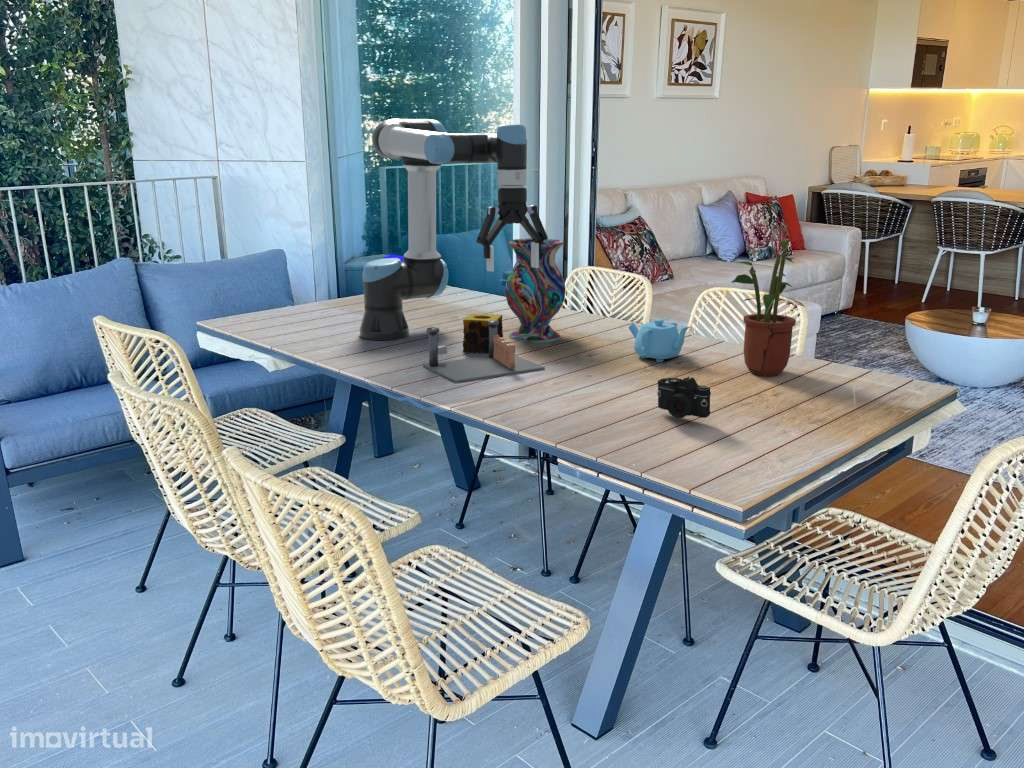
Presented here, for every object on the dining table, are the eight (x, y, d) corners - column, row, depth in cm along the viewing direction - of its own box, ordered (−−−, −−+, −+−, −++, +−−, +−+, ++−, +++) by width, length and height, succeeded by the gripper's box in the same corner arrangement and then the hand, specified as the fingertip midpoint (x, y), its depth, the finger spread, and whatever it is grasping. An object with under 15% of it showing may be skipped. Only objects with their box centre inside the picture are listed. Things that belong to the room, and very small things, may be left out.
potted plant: (791, 370, 233) (803, 238, 223) (789, 384, 219) (802, 245, 209) (725, 364, 238) (734, 236, 229) (719, 378, 224) (728, 242, 215)
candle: (496, 355, 248) (496, 321, 245) (462, 353, 250) (461, 319, 247) (504, 347, 258) (504, 314, 255) (471, 345, 260) (470, 312, 257)
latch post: (423, 366, 236) (422, 327, 233) (444, 363, 239) (443, 324, 236) (431, 369, 232) (430, 330, 229) (452, 366, 235) (451, 327, 232)
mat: (423, 366, 235) (423, 364, 235) (508, 354, 249) (508, 352, 248) (455, 383, 220) (455, 380, 219) (544, 369, 233) (544, 367, 233)
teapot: (680, 353, 251) (682, 314, 248) (688, 365, 238) (691, 324, 235) (627, 353, 251) (628, 314, 248) (632, 364, 238) (634, 324, 235)
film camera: (644, 414, 197) (647, 379, 190) (661, 397, 201) (664, 363, 195) (696, 437, 190) (702, 402, 184) (713, 419, 195) (718, 384, 188)
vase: (496, 342, 264) (495, 243, 255) (518, 330, 280) (518, 236, 272) (552, 347, 257) (554, 246, 249) (572, 335, 273) (574, 239, 265)
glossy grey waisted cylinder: (485, 358, 244) (485, 321, 241) (495, 357, 245) (495, 319, 243) (491, 361, 241) (490, 323, 238) (501, 359, 243) (501, 321, 240)
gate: (493, 357, 241) (493, 334, 239) (498, 357, 241) (498, 334, 240) (510, 369, 229) (510, 345, 227) (515, 368, 230) (515, 344, 228)
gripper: (476, 188, 215) (477, 274, 220) (560, 186, 227) (560, 267, 232) (462, 187, 221) (464, 271, 226) (545, 185, 233) (545, 264, 238)
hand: (512, 269), depth 229 cm, fingers open, 13 cm apart
